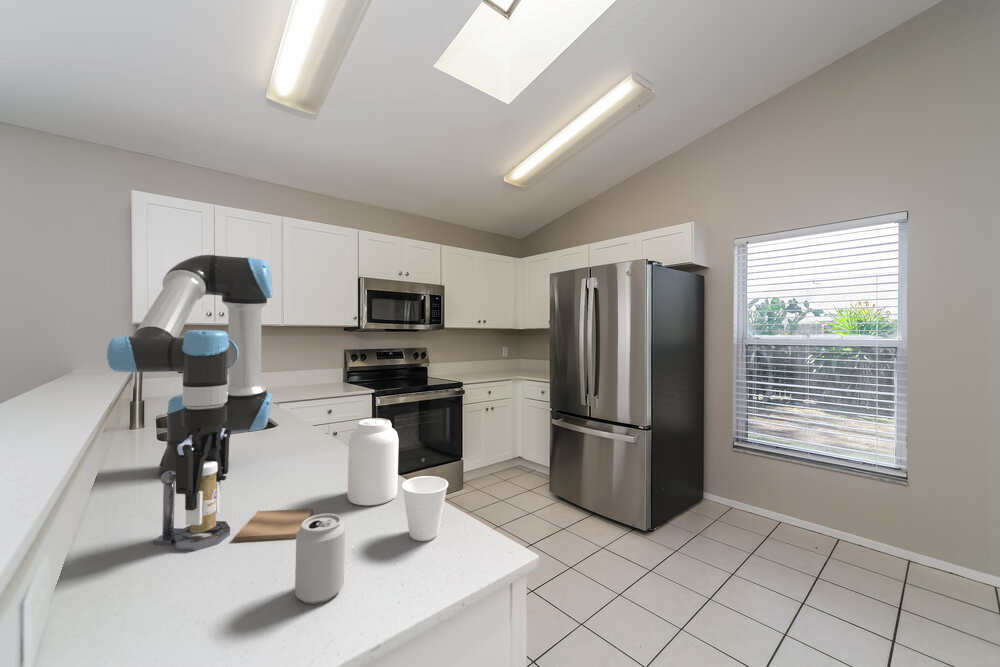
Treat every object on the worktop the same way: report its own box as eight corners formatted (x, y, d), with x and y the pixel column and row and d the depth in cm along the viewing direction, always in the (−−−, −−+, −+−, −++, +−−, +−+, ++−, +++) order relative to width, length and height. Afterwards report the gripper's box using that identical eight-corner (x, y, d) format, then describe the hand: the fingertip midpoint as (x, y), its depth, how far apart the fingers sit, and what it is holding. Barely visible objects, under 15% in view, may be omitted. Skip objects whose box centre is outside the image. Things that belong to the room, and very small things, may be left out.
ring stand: (178, 527, 89) (179, 463, 88) (237, 528, 89) (239, 465, 89) (142, 549, 80) (143, 478, 80) (208, 551, 80) (210, 480, 80)
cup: (454, 528, 91) (456, 479, 91) (433, 550, 82) (434, 496, 82) (415, 520, 95) (416, 473, 95) (390, 541, 85) (392, 488, 85)
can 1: (305, 578, 72) (306, 510, 72) (349, 577, 72) (350, 510, 72) (286, 607, 64) (288, 531, 64) (335, 606, 65) (337, 531, 65)
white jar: (350, 510, 99) (352, 428, 99) (344, 491, 110) (346, 417, 110) (402, 501, 105) (404, 423, 105) (391, 484, 116) (393, 414, 116)
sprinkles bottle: (216, 530, 84) (217, 465, 84) (188, 536, 81) (189, 468, 81) (216, 521, 88) (217, 458, 87) (190, 526, 85) (191, 462, 85)
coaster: (257, 515, 95) (257, 511, 95) (312, 512, 97) (312, 508, 97) (234, 542, 83) (234, 537, 83) (297, 538, 85) (297, 533, 85)
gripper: (215, 397, 93) (214, 499, 93) (150, 413, 75) (148, 539, 76) (249, 398, 93) (247, 500, 93) (191, 415, 75) (189, 540, 76)
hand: (203, 517), depth 84 cm, fingers closed on sprinkles bottle, 4 cm apart
